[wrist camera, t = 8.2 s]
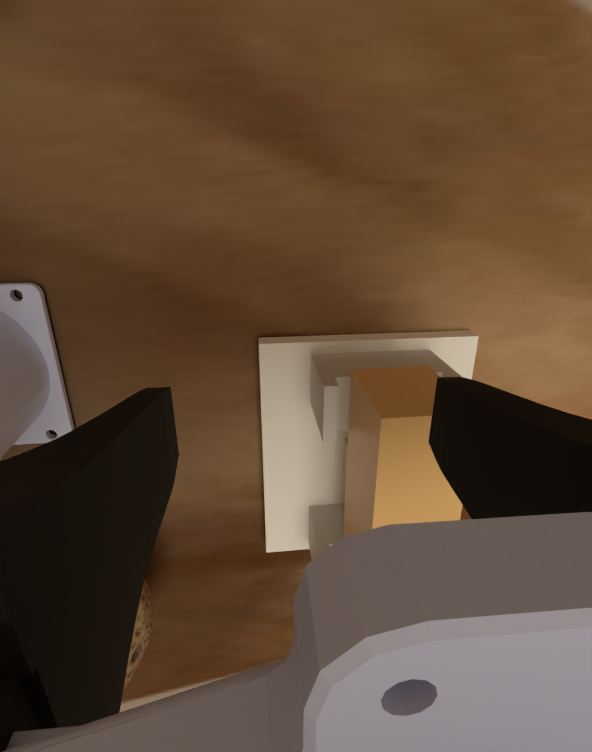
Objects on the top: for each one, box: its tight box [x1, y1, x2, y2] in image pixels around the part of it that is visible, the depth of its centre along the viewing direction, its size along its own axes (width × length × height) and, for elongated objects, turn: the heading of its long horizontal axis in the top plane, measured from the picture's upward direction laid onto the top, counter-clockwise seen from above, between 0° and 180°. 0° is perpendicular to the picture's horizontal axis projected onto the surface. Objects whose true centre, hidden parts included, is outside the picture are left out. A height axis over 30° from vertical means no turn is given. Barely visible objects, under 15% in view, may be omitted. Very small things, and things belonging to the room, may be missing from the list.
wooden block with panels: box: [343, 366, 462, 537], centre depth 19 cm, size 3×12×4 cm, turn 0°
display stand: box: [258, 330, 479, 561], centre depth 22 cm, size 11×13×5 cm
